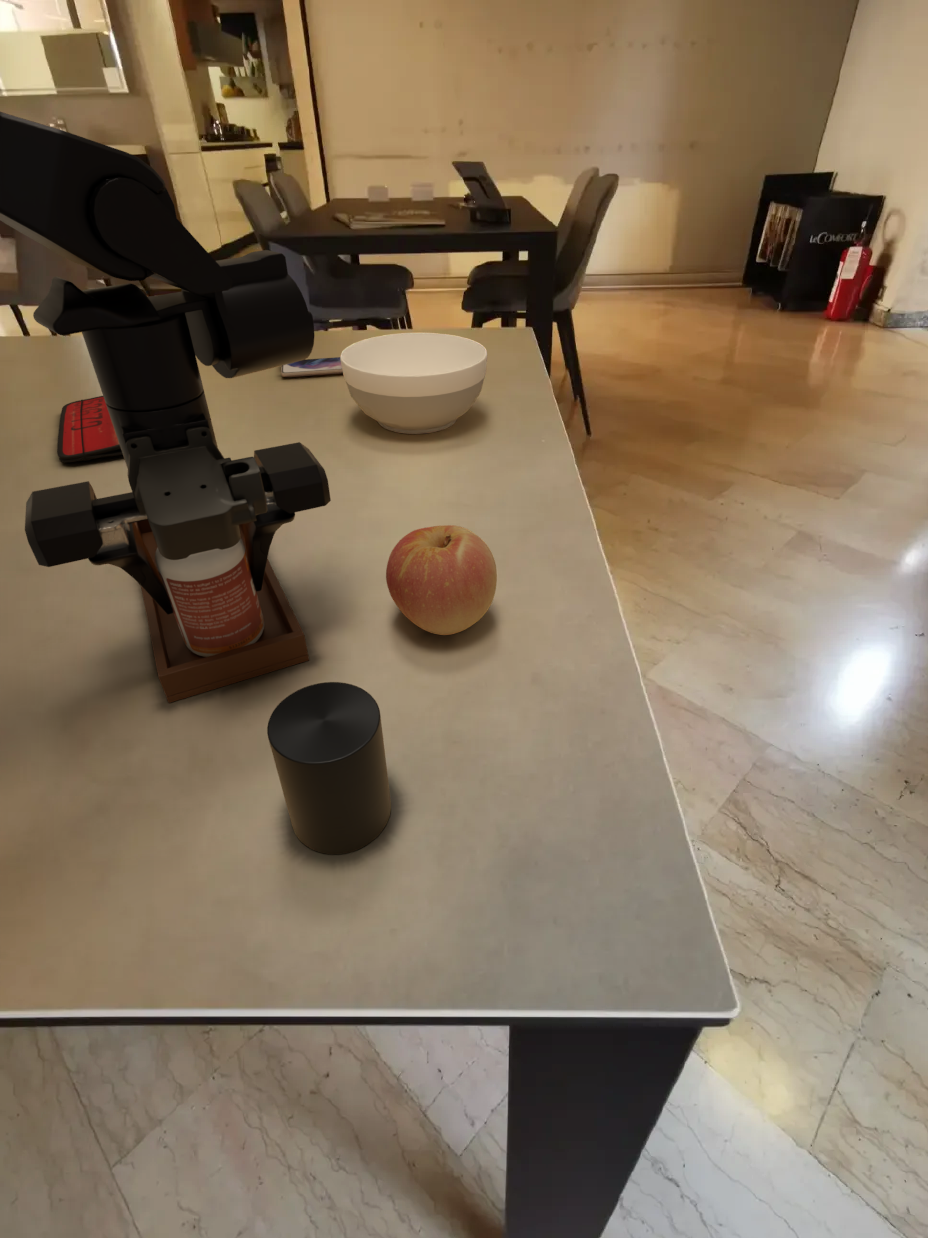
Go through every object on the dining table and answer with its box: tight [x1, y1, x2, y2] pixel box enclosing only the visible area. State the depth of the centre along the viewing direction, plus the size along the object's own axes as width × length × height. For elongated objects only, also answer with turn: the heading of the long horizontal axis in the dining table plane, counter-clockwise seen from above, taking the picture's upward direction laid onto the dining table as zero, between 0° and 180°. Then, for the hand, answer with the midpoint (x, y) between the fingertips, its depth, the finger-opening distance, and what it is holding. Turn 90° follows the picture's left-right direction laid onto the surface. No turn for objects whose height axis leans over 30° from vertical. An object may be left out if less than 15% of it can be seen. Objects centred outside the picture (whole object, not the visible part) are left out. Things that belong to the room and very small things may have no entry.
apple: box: [385, 524, 498, 636], centre depth 53 cm, size 9×9×8 cm
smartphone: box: [280, 356, 343, 378], centre depth 107 cm, size 7×1×15 cm
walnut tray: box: [134, 520, 310, 704], centre depth 58 cm, size 26×10×3 cm, turn 26°
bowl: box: [339, 332, 488, 435], centre depth 88 cm, size 19×19×9 cm
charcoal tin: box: [266, 681, 392, 855], centre depth 38 cm, size 6×6×8 cm
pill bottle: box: [155, 538, 264, 657], centre depth 50 cm, size 6×6×11 cm
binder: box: [56, 395, 123, 463], centre depth 88 cm, size 16×2×21 cm
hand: (214, 599), depth 51 cm, fingers closed on pill bottle, 6 cm apart
